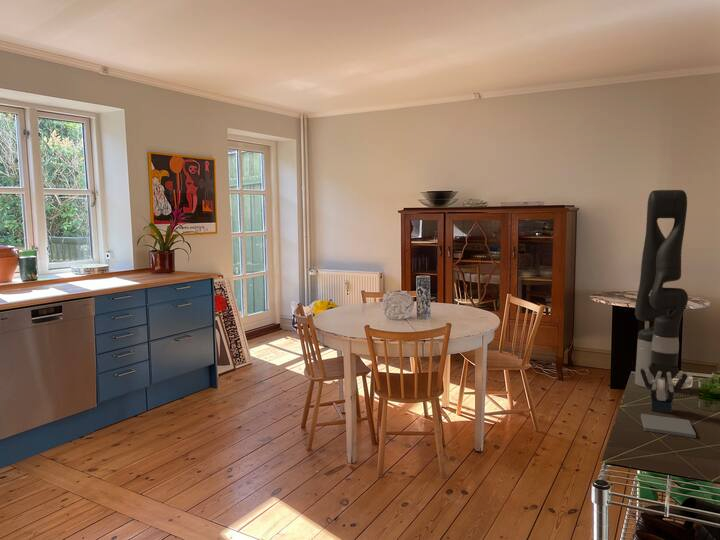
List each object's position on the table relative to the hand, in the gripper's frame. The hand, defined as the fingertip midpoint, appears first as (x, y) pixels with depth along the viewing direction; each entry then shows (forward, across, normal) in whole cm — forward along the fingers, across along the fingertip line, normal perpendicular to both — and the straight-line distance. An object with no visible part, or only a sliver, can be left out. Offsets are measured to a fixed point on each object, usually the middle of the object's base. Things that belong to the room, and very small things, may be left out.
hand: (661, 401), depth 175 cm
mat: (+3, 0, +15) cm, 15 cm away
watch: (+3, 0, 0) cm, 3 cm away
